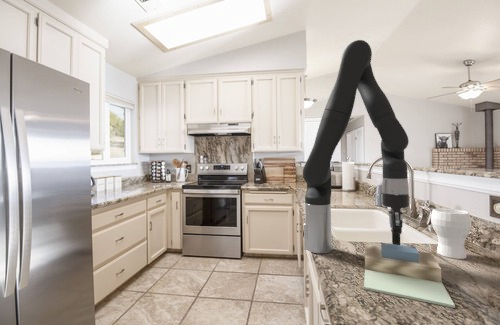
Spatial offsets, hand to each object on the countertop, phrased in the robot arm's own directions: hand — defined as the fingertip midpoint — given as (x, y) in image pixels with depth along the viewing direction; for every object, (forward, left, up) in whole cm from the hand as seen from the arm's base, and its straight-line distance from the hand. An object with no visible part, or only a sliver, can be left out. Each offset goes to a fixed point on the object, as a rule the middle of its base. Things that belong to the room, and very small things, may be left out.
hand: (396, 244), depth 78 cm
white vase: (+17, +13, -5) cm, 22 cm away
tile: (0, -8, 0) cm, 8 cm away
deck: (0, -7, -5) cm, 9 cm away
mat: (0, -19, -5) cm, 20 cm away
